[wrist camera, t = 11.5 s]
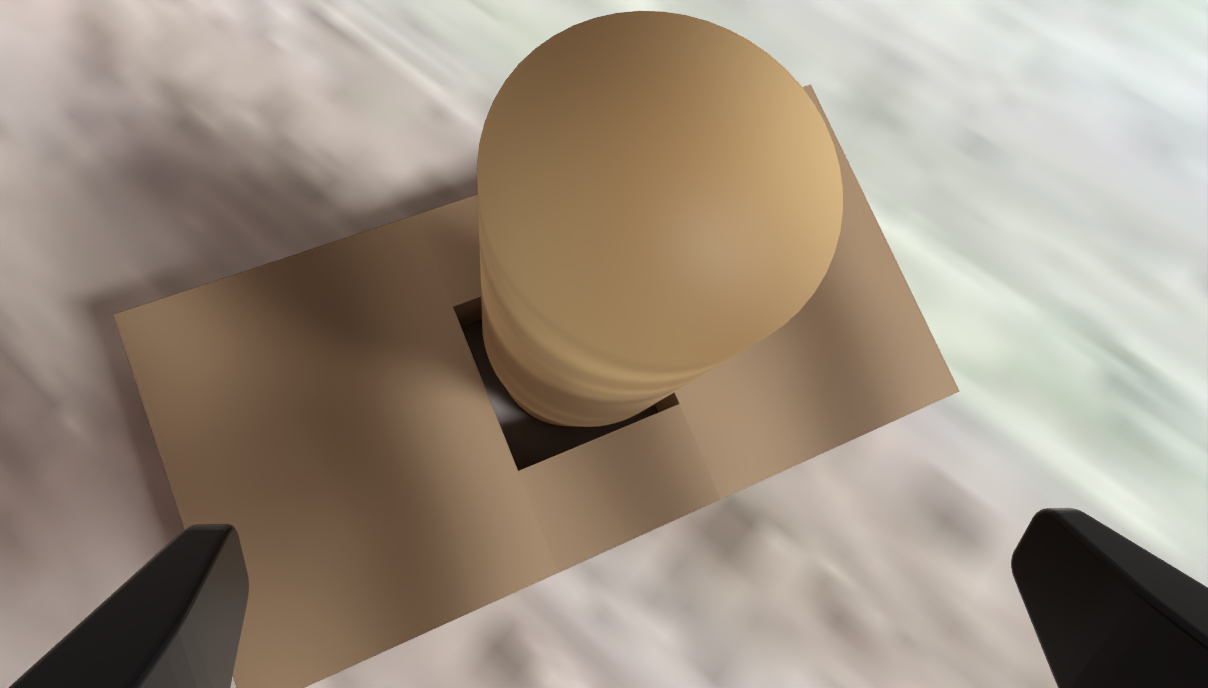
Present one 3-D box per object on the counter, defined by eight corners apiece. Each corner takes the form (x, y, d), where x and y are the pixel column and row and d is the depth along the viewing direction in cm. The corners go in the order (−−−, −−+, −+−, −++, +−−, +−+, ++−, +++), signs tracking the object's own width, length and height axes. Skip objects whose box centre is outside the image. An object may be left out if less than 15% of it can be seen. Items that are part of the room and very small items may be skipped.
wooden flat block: (275, 688, 20) (245, 713, 17) (156, 336, 21) (113, 314, 19) (911, 402, 24) (959, 391, 22) (779, 124, 25) (810, 84, 23)
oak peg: (517, 472, 22) (565, 421, 8) (461, 332, 22) (420, 68, 9) (655, 414, 23) (902, 283, 9) (598, 281, 23) (751, -28, 10)
